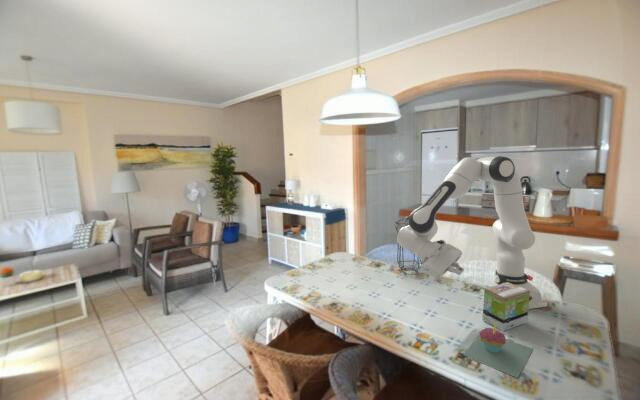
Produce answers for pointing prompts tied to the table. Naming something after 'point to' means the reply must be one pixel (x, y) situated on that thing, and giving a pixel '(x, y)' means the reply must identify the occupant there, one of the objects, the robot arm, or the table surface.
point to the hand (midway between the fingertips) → (462, 272)
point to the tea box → (506, 305)
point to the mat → (501, 356)
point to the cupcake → (492, 339)
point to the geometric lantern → (402, 249)
